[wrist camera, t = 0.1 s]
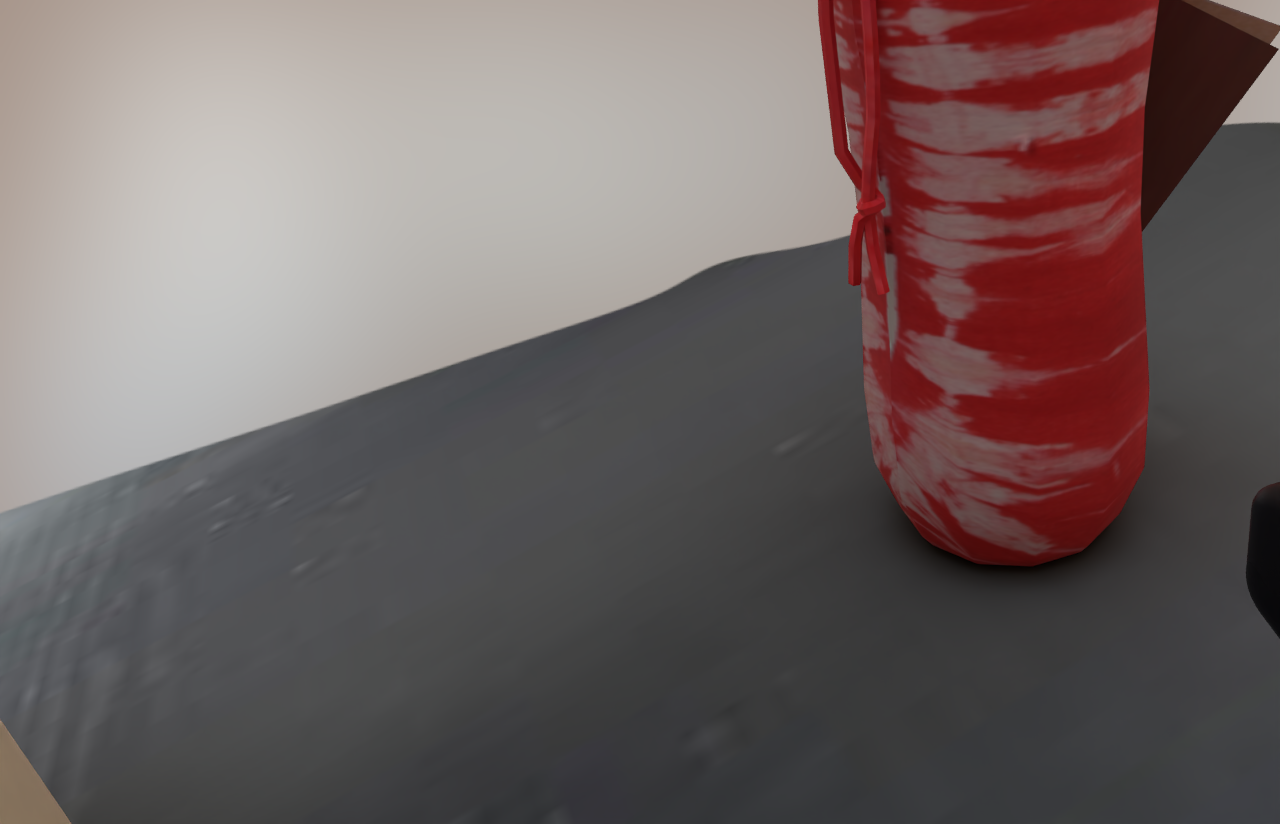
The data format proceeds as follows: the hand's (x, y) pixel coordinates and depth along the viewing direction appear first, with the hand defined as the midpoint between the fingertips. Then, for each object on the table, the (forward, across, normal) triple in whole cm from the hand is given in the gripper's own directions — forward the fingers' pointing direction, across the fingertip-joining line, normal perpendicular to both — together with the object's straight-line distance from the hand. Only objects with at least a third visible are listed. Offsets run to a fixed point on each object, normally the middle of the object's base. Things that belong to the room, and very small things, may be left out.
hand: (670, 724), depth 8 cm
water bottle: (+21, -14, +17) cm, 30 cm away
